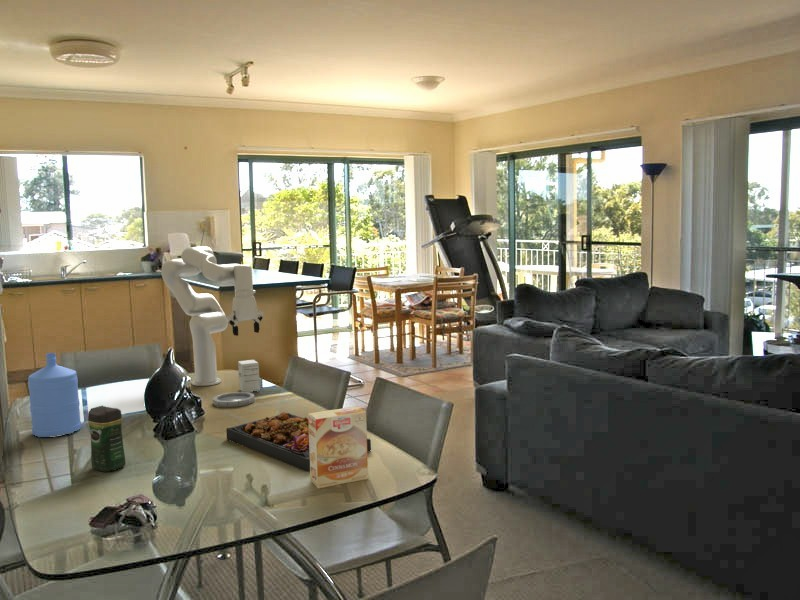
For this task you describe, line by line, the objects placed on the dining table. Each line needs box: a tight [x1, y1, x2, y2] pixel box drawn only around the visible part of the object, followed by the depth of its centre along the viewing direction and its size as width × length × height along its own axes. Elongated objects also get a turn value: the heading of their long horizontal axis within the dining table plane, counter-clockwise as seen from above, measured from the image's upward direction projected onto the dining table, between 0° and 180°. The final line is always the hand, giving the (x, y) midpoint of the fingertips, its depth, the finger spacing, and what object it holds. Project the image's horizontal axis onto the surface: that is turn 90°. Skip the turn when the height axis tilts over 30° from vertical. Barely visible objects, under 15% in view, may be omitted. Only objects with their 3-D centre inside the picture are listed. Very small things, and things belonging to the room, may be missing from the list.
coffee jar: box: [87, 405, 126, 472], centre depth 211 cm, size 10×8×19 cm
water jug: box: [27, 352, 82, 438], centre depth 249 cm, size 16×16×28 cm
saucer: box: [212, 391, 255, 409], centre depth 285 cm, size 16×16×2 cm
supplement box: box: [237, 359, 261, 393], centre depth 303 cm, size 7×7×13 cm
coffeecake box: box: [307, 405, 369, 489], centre depth 196 cm, size 15×7×20 cm, turn 115°
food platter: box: [225, 411, 372, 473], centre depth 228 cm, size 45×25×10 cm, turn 44°
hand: (246, 333), depth 300 cm, fingers open, 9 cm apart
